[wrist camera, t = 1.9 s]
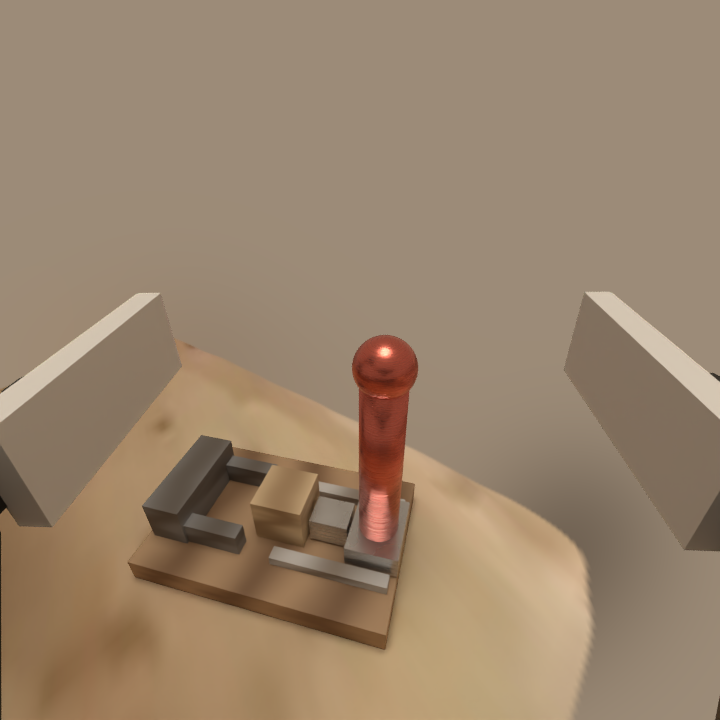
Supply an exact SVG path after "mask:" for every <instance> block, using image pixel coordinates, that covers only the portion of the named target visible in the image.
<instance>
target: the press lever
mask: <svg viewBox="0 0 720 720" xmlns="http://www.w3.org/2000/svg"><path fill="white" fill-rule="evenodd" d="M352 372H353V377H354V380H355V382H356V384H357V386H358V387H359V502H358V505H357V509H356V512H355V504H354V503H349V502H345V501H340V500H336V499H331V498H326V497H322V496H319V498H318V500H317V503H316V505H315V507H314V510H313V512H312V514H311V517H310V519H309V527H310V536H311V538H312V539H316V540H320V541H324V542H329V543H333V544H337V545H341V546H344V564H348V565H352V566H356V567H360V568H364V569H368V570H372V571H376V572H380V573H384V574H388V575H390V576H393V577H397V574H398V569H399V564H400V559H401V553H402V548H403V543H404V538H405V532H406V527H407V522H408V515H409V505H410V502H406V501H401V500H400V498H401V486H402V474H403V462H404V449H405V437H406V424H407V413H408V401H409V390H410V389H411V388H412V386H413V385H414V383H415V380H416V378H417V374H418V362H417V358H416V355H415V353H414V351H413V350H412V348H411V347H410V346H409V345H408V344H407V343H406V342H405V341H403V340H402V339H400V338H398V337H395V336H390V335H379V336H376V337H372V338H370V339H369V340H367V341H365V342H364V343H363V344H362V345H361V346H360V347H359V348H358V350H357V352H356V353H355V356H354V358H353V363H352Z"/></svg>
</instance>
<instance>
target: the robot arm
mask: <svg viewBox="0 0 720 720" xmlns="http://www.w3.org/2000/svg"><path fill="white" fill-rule="evenodd" d="M181 367H182V365H181V361H180V358H179V354H178V351H177V347H176V344H175V341H174V337H173V334H172V330H171V327H170V323H169V320H168V317H167V313H166V310H165V306H164V303H163V299H162V296H161V293H137V294H136V295H134V296H133V297H132V298H130V299H129V300H128V301H126V302H125V303H124V304H122V305H121V306H119V307H118V308H117V309H115V310H114V311H113V312H111V313H110V314H108V315H107V316H106V317H104V318H103V319H102V320H100V321H99V322H98V323H96V324H95V325H94V326H92V327H91V328H89V329H88V330H87V331H85V332H84V333H83V334H81V335H80V336H78V337H77V338H76V339H74V340H73V341H72V342H70V343H69V344H68V345H66V346H65V347H63V348H62V349H61V350H59V351H58V352H57V353H55V354H54V355H53V356H51V357H50V358H49V359H47V360H46V361H44V362H43V363H42V364H40V365H39V366H38V367H36V368H35V369H33V370H32V371H31V372H29V373H28V374H27V375H25V376H23V377H21V378H19V379H18V380H16V381H15V382H14V383H12V384H11V385H10V386H8V387H7V388H5V389H4V390H3V391H2V393H1V394H0V514H1V513H2V511H3V510H4V509H5V508H7V509H8V511H9V512H10V513H11V515H12V516H13V518H14V519H15V521H16V522H17V524H18V525H19V526H31V527H53V526H54V525H55V523H56V522H57V521H58V520H59V518H60V517H61V516H62V515H63V513H64V512H65V511H66V510H67V508H68V507H69V506H70V505H71V504H72V502H73V501H74V500H75V499H76V497H77V496H78V495H79V494H80V492H81V491H82V490H83V489H84V487H85V486H86V485H87V484H88V482H89V481H90V480H91V479H92V477H93V476H94V475H95V474H96V472H97V471H98V470H99V469H100V467H101V466H102V465H103V464H104V462H105V461H106V460H107V459H108V458H109V456H110V455H111V454H112V453H113V451H114V450H115V449H116V448H117V446H118V445H119V444H120V443H121V441H122V440H123V439H124V438H125V436H126V435H127V434H128V433H129V431H130V430H131V429H132V428H133V426H134V425H135V424H136V423H137V421H138V420H139V419H140V418H141V416H142V415H143V414H144V413H145V412H146V410H147V409H148V408H149V407H150V405H151V404H152V403H153V402H154V400H155V399H156V398H157V397H158V395H159V394H160V393H161V392H162V390H163V389H164V388H165V387H166V385H167V384H168V383H169V382H170V380H171V379H172V378H173V377H174V375H175V374H176V373H177V372H178V370H179V369H180V368H181ZM564 371H565V373H566V374H567V376H568V377H569V379H570V380H571V382H572V383H573V384H574V386H575V387H576V389H577V390H578V392H579V393H580V395H581V396H582V398H583V399H584V401H585V402H586V404H587V405H588V407H589V408H590V410H591V411H592V413H593V414H594V416H595V417H596V419H597V420H598V422H599V423H600V425H601V426H602V428H603V429H604V431H605V432H606V434H607V435H608V437H609V438H610V440H611V441H612V443H613V444H614V446H615V447H616V449H617V450H618V452H619V453H620V455H621V456H622V458H623V459H624V461H625V462H626V464H627V465H628V467H629V468H630V470H631V471H632V473H633V474H634V476H635V477H636V479H637V480H638V482H639V483H640V485H641V486H642V488H643V489H644V491H645V492H646V494H647V495H648V497H649V498H650V500H651V501H652V503H653V504H654V506H655V507H656V509H657V510H658V512H659V513H660V515H661V516H662V518H663V519H664V521H665V522H666V524H667V525H668V527H669V528H670V530H671V531H672V533H673V534H674V536H675V537H676V539H677V540H678V542H679V543H680V545H681V546H682V548H683V549H684V550H698V551H699V550H700V551H720V376H718V375H716V374H714V373H708V372H707V371H706V370H705V369H703V368H702V367H701V366H700V365H699V364H697V363H696V362H695V361H694V360H692V359H691V358H690V357H689V356H688V355H686V354H685V353H684V352H683V351H682V350H681V349H679V348H678V347H677V346H676V345H674V344H673V343H672V342H671V341H670V340H668V339H667V338H666V337H665V336H664V335H662V334H661V333H660V332H659V331H657V330H656V329H655V328H654V327H653V326H651V325H650V324H649V323H648V322H647V321H645V320H644V319H643V318H642V317H641V316H639V315H638V314H637V313H636V312H635V311H633V310H632V309H631V308H630V307H628V306H627V305H626V304H625V303H624V302H622V301H621V300H620V299H619V298H618V297H616V296H615V295H614V294H613V293H612V292H584V295H583V299H582V303H581V306H580V311H579V314H578V318H577V321H576V325H575V329H574V333H573V336H572V340H571V344H570V348H569V351H568V355H567V359H566V363H565V366H564ZM0 720H1V532H0ZM715 720H720V698H719V703H718V709H717V714H716V719H715Z"/></svg>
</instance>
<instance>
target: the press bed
mask: <svg viewBox="0 0 720 720" xmlns="http://www.w3.org/2000/svg"><path fill="white" fill-rule="evenodd" d="M272 465H276V466H281V467H286V468H290V469H295V470H300V471H305V472H310V473H315V474H318V480H319V493H320V496H322V497H326V498H331V499H336V500H340V501H345V502H349V503H354V504H355V512H356V509H357V505H358V502H359V472H354V471H349V470H344V469H339V468H334V467H329V466H324V465H319V464H314V463H309V462H304V461H299V460H294V459H289V458H284V457H279V456H274V455H269V454H265V453H260V452H255V451H250V450H245V449H240V448H235V447H232V443H231V441H228V440H223V439H218V438H213V437H208V436H203V435H201V436H200V437H199V439H198V440H197V441H196V442H195V443H194V445H193V446H192V447H191V448H190V449H189V451H188V452H187V453H186V454H185V455H184V457H183V458H182V459H181V460H180V461H179V462H178V464H177V465H176V466H175V467H174V468H173V470H172V471H171V472H170V473H169V474H168V476H167V477H166V478H165V479H164V480H163V482H162V483H161V484H160V485H159V486H158V488H157V489H156V490H155V491H154V492H153V493H152V495H151V496H150V497H149V498H148V499H147V501H146V502H145V503H144V504H143V505H142V507H143V509H144V512H145V514H146V516H147V519H148V521H149V523H150V525H151V528H152V531H151V532H150V533H149V535H148V536H147V537H146V539H145V540H144V541H143V542H142V544H141V545H140V546H139V548H138V549H137V550H136V552H135V553H134V554H133V555H132V557H131V558H130V559H129V561H128V564H129V566H130V568H131V570H132V572H133V574H134V576H135V577H137V578H141V579H144V580H148V581H151V582H155V583H158V584H161V585H165V586H168V587H172V588H175V589H179V590H182V591H185V592H189V593H192V594H196V595H199V596H203V597H206V598H210V599H213V600H216V601H220V602H223V603H227V604H230V605H234V606H237V607H240V608H244V609H247V610H251V611H254V612H258V613H261V614H265V615H268V616H271V617H275V618H278V619H282V620H285V621H289V622H292V623H295V624H299V625H302V626H306V627H309V628H313V629H316V630H319V631H323V632H326V633H330V634H333V635H337V636H340V637H344V638H347V639H350V640H354V641H357V642H361V643H364V644H368V645H371V646H374V647H378V648H381V649H385V647H386V641H387V636H388V631H389V625H390V620H391V615H392V609H393V604H394V599H395V593H396V588H397V583H398V577H399V572H400V567H401V561H402V556H403V551H404V545H405V540H406V535H407V529H408V524H409V519H410V513H411V508H412V503H413V496H414V487H415V484H413V483H408V482H403V481H402V486H401V498H400V500H401V501H406V502H410V505H409V515H408V522H407V527H406V532H405V538H404V543H403V548H402V553H401V559H400V564H399V569H398V574H397V577H393V576H390V575H388V574H384V573H380V572H376V571H372V570H368V569H364V568H360V567H356V566H352V565H348V564H344V546H341V545H337V544H333V543H329V542H324V541H320V540H316V539H312V538H311V536H310V533H309V536H308V538H307V541H306V543H305V546H304V548H303V547H299V546H295V545H291V544H287V543H283V542H279V541H275V540H270V539H266V538H262V537H258V536H257V534H256V530H255V525H254V520H253V516H252V511H251V507H250V502H251V501H252V499H253V497H254V496H255V494H256V492H257V490H258V489H259V487H260V485H261V484H262V482H263V480H264V478H265V477H266V475H267V473H268V471H269V470H270V468H271V466H272Z"/></svg>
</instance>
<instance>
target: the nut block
mask: <svg viewBox="0 0 720 720" xmlns="http://www.w3.org/2000/svg"><path fill="white" fill-rule="evenodd" d="M319 496H320V493H319V480H318V474H315V473H310V472H305V471H300V470H295V469H290V468H286V467H281V466H276V465H272V466H271V468H270V470H269V471H268V473H267V475H266V477H265V478H264V480H263V482H262V484H261V485H260V487H259V489H258V490H257V492H256V494H255V496H254V497H253V499H252V501H251V502H250V507H251V511H252V516H253V520H254V525H255V530H256V534H257V536H258V537H262V538H266V539H270V540H275V541H279V542H283V543H287V544H291V545H295V546H299V547H303V548H304V546H305V543H306V541H307V538H308V536H309V533H310V527H309V519H310V517H311V514H312V512H313V510H314V507H315V505H316V503H317V500H318V498H319Z"/></svg>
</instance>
